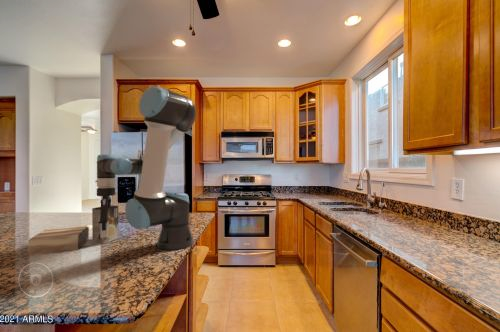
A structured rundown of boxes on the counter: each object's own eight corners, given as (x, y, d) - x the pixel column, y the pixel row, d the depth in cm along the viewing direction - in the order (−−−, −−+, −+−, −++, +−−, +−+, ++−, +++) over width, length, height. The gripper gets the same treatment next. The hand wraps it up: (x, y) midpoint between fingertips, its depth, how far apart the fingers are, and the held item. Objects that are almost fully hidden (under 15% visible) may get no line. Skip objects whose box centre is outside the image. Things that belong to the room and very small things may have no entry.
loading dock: (80, 249, 100) (80, 234, 100) (28, 255, 92) (28, 239, 93) (88, 238, 116) (88, 225, 116) (45, 242, 109) (45, 229, 109)
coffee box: (107, 237, 116) (107, 205, 117) (118, 238, 115) (119, 205, 115) (91, 243, 107) (91, 208, 108) (103, 244, 106) (103, 208, 106)
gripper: (100, 186, 121) (100, 229, 120) (92, 189, 100) (91, 241, 99) (117, 185, 124) (117, 228, 123) (112, 188, 103) (112, 239, 102)
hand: (105, 234), depth 111 cm, fingers closed on coffee box, 10 cm apart
